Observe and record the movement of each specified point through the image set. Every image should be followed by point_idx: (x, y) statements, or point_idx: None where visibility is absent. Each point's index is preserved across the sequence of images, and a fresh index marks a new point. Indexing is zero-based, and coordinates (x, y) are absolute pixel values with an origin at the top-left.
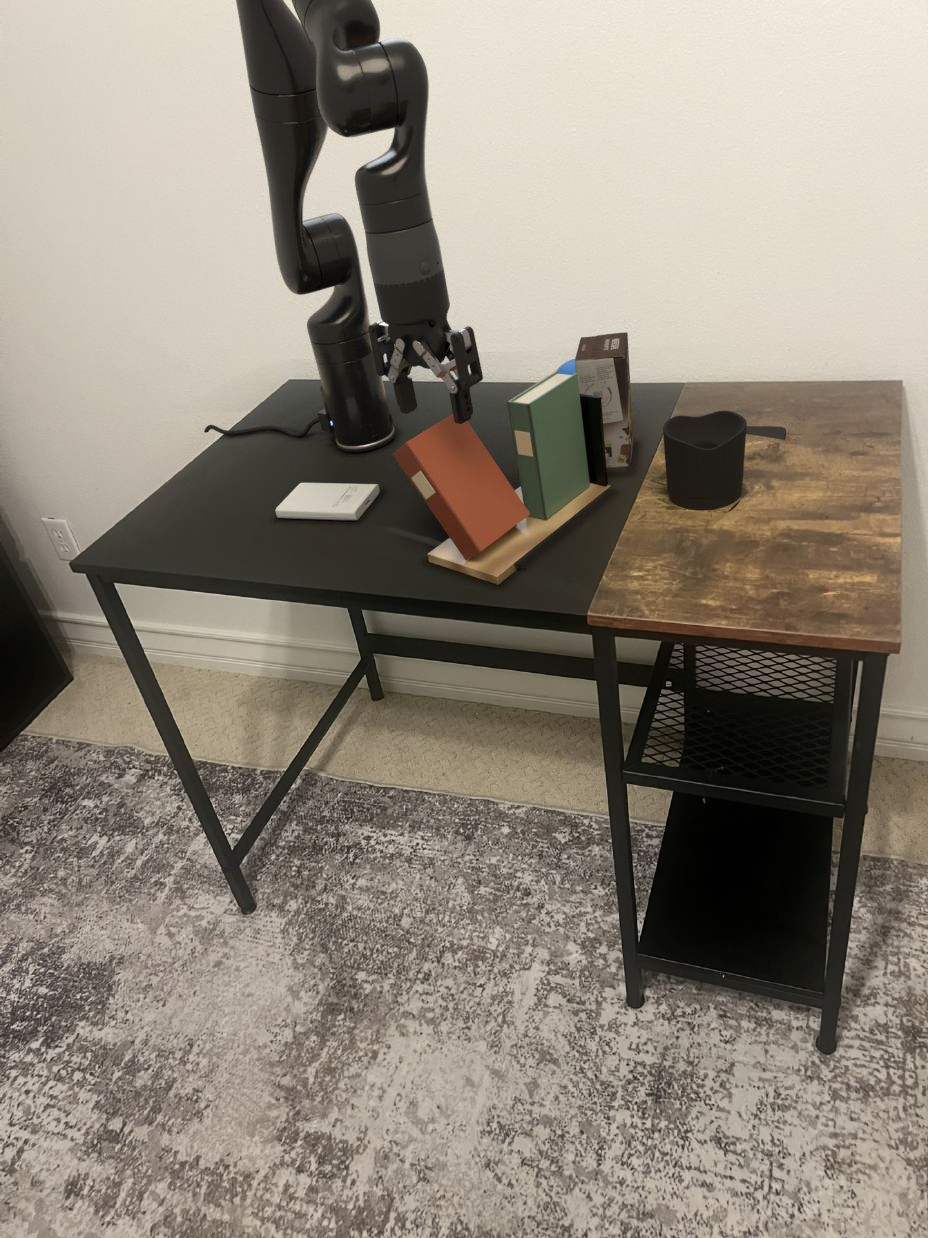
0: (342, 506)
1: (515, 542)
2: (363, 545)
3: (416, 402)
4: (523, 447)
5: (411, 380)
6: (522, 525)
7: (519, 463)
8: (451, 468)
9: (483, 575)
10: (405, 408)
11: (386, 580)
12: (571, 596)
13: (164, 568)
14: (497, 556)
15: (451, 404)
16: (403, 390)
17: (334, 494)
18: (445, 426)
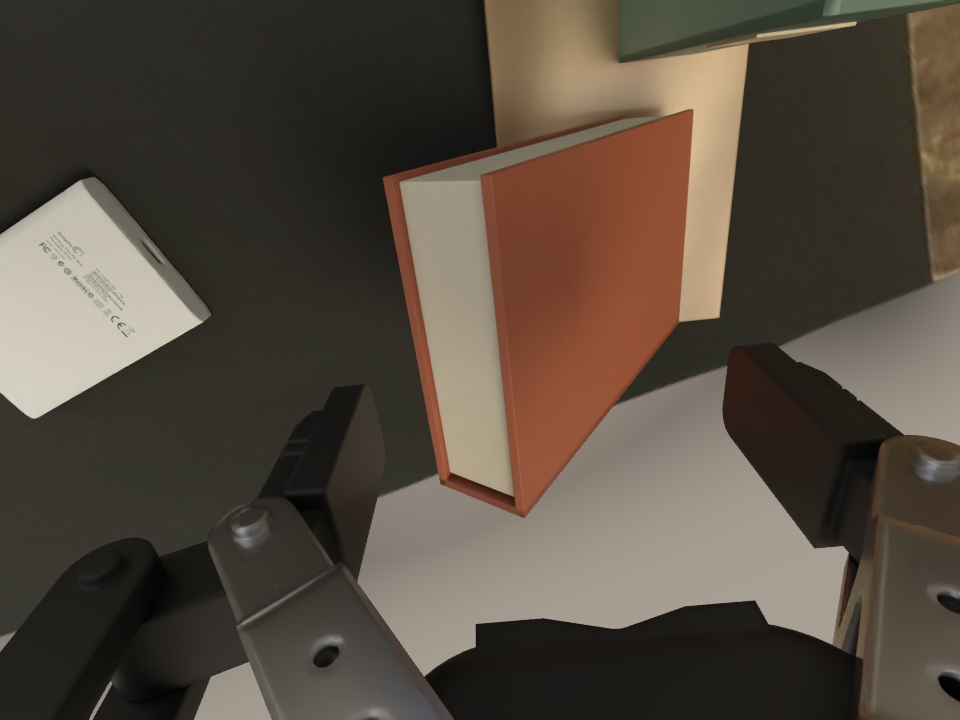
0: (145, 322)
1: None
2: (329, 365)
3: (363, 394)
4: (759, 40)
5: (332, 484)
6: (644, 114)
7: (686, 49)
8: (598, 338)
9: None
10: (381, 467)
11: None
12: (878, 254)
13: None
14: None
15: (773, 493)
16: (359, 526)
17: (57, 296)
18: (522, 308)
